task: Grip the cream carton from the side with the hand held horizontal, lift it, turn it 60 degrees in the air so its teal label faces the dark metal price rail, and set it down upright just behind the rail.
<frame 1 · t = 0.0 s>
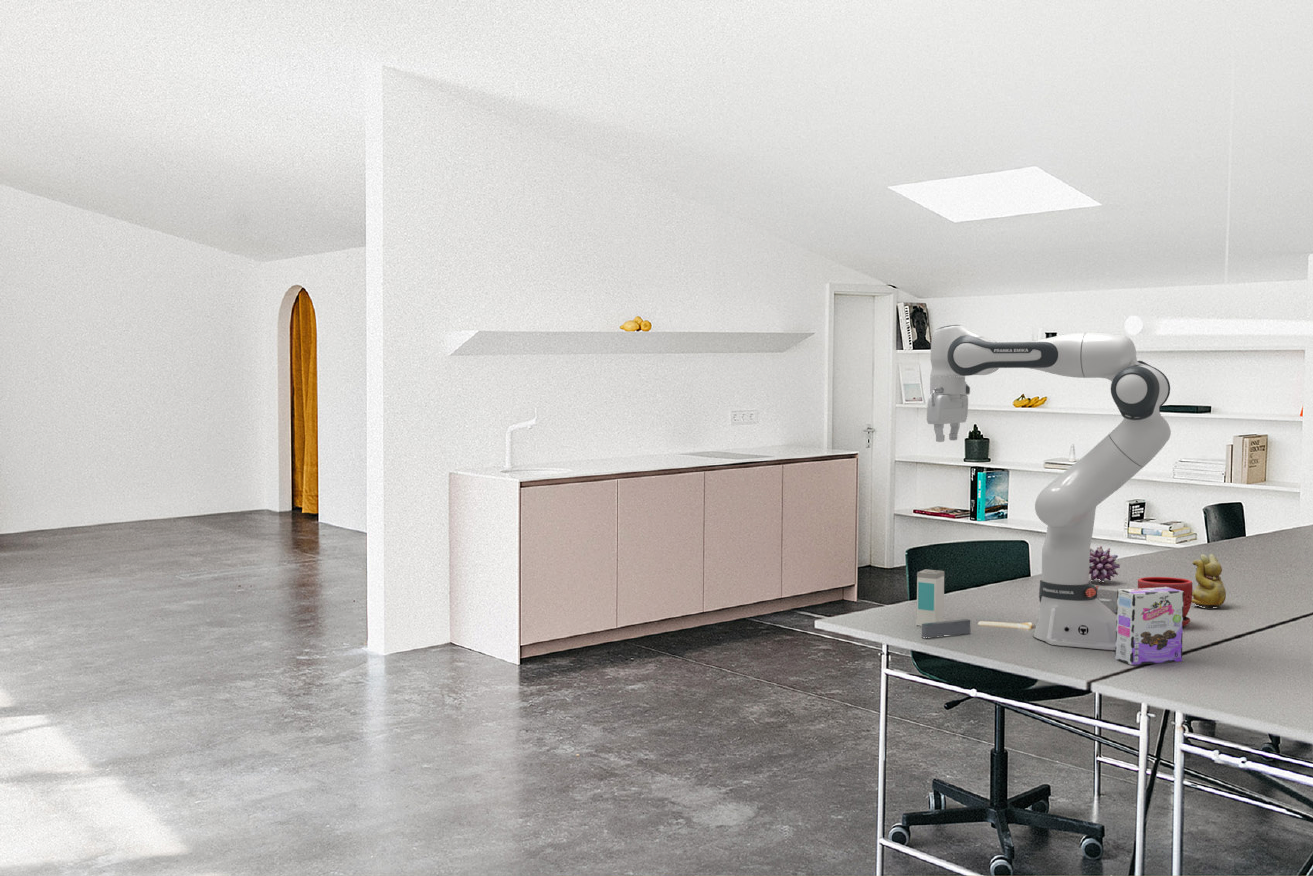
hand: (946, 441, 297), 48 cm above the table, tool pointing down, fingers open, 8 cm apart
price rail: (946, 635, 285), on the table
candy box: (1148, 661, 260), on the table
plant pot: (1164, 625, 299), on the table
decorative figurine: (1209, 608, 321), on the table
purple spiky ball: (1099, 584, 359), on the table
carton: (930, 625, 297), on the table
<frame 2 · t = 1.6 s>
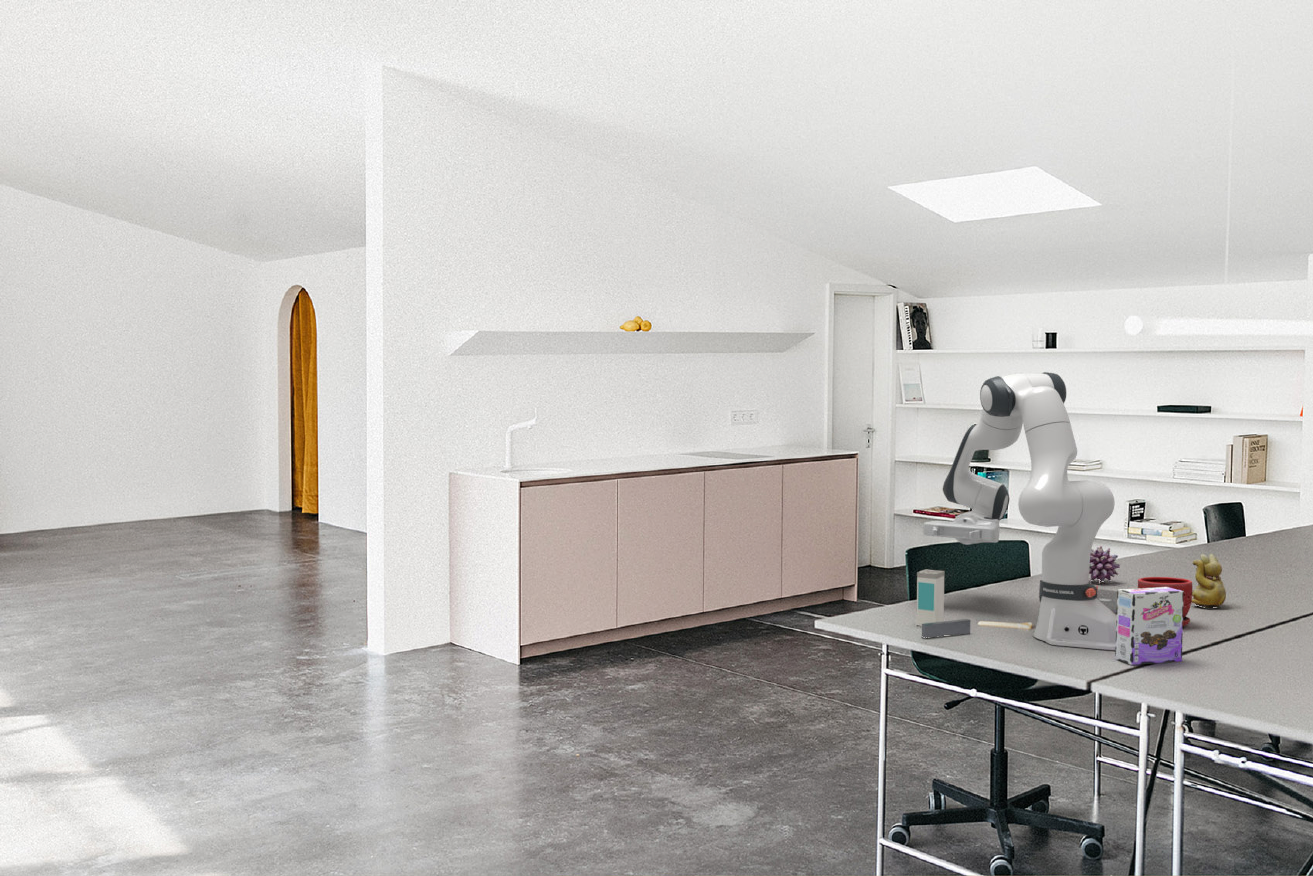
hand: (951, 534, 309), 22 cm above the table, tool horizontal, fingers open, 8 cm apart
nothing on the table moved.
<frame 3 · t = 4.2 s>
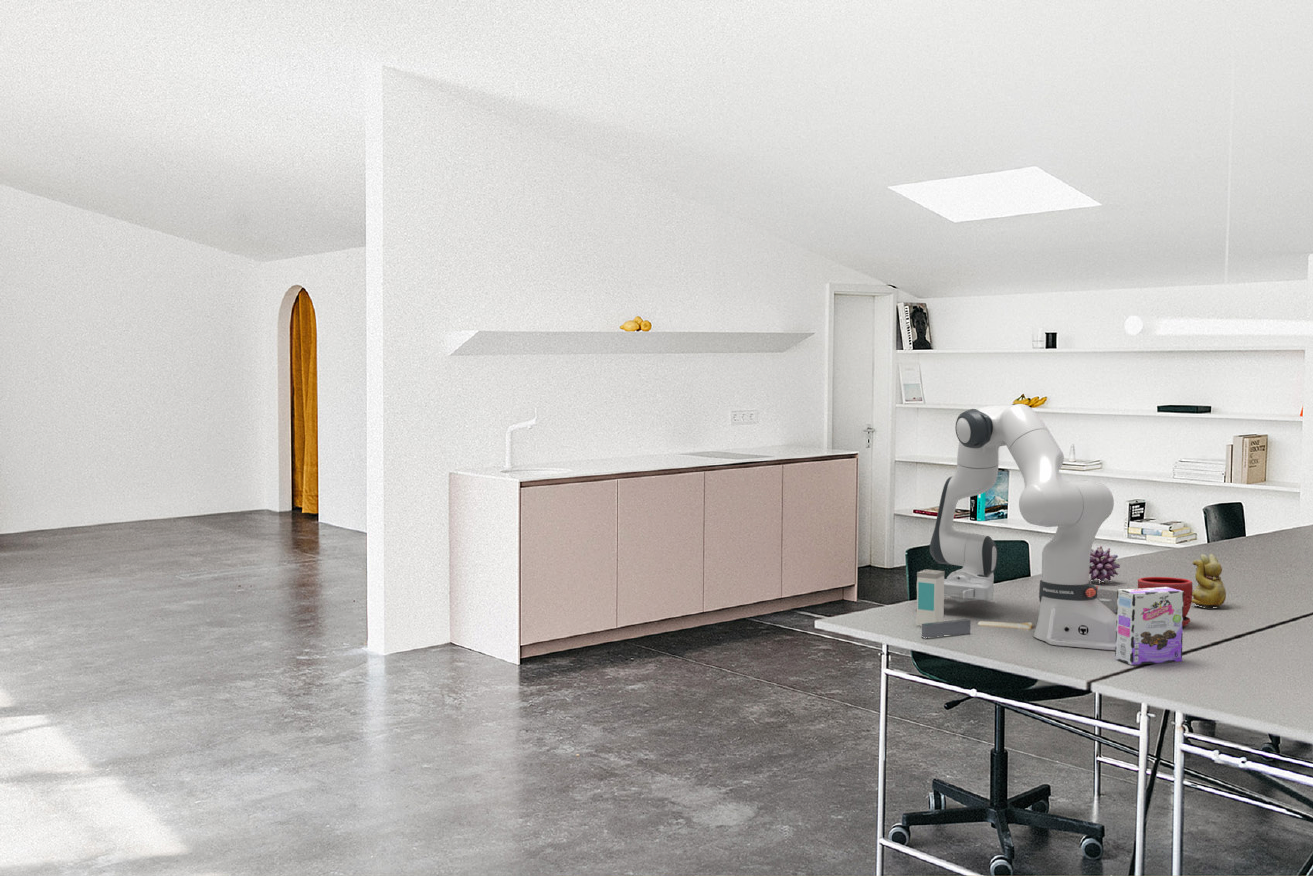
hand: (944, 592, 305), 7 cm above the table, tool horizontal, fingers open, 8 cm apart
nothing on the table moved.
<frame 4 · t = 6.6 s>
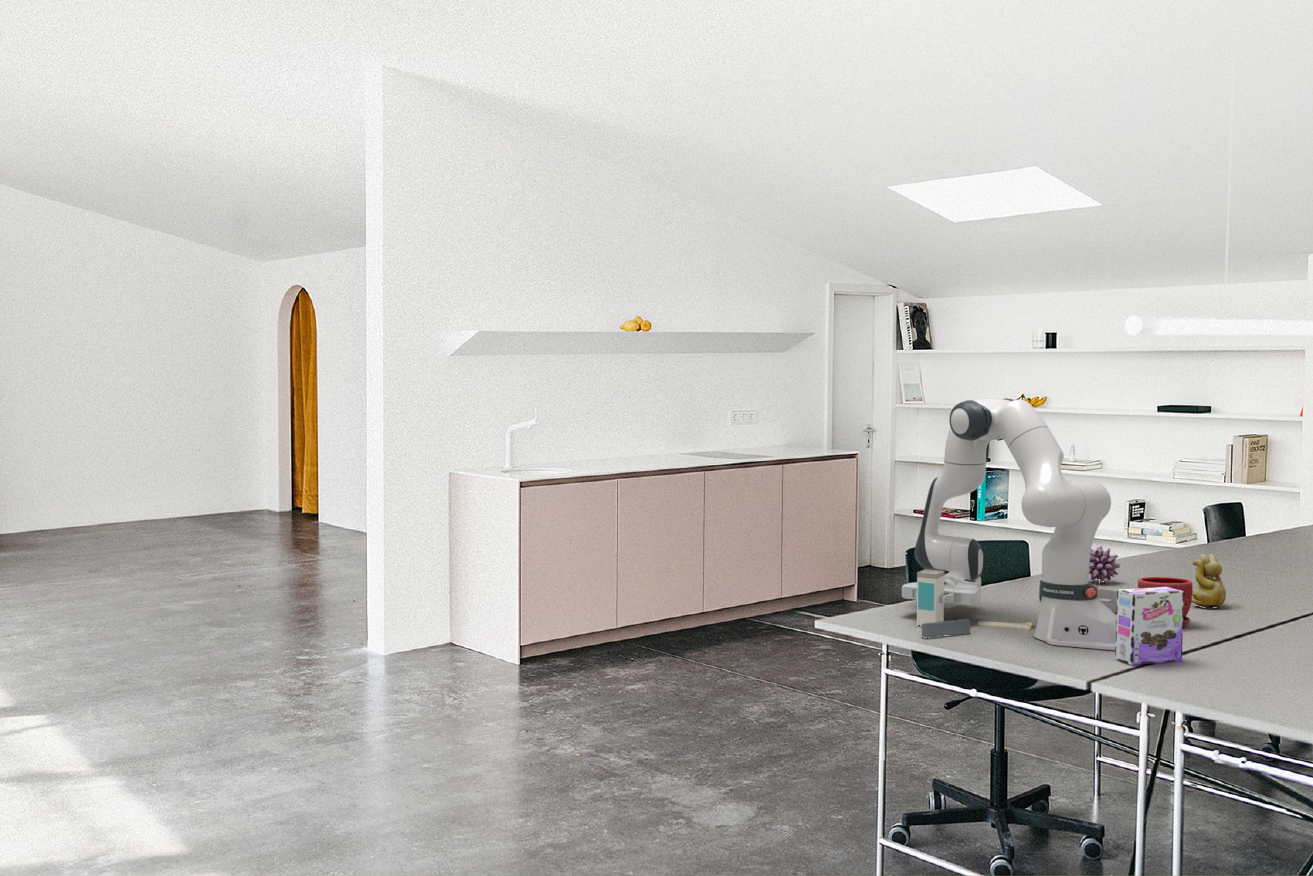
hand: (929, 598, 297), 7 cm above the table, tool horizontal, fingers closed on carton, 5 cm apart
carton: (930, 625, 297), on the table, touching gripper
everything else where it was.
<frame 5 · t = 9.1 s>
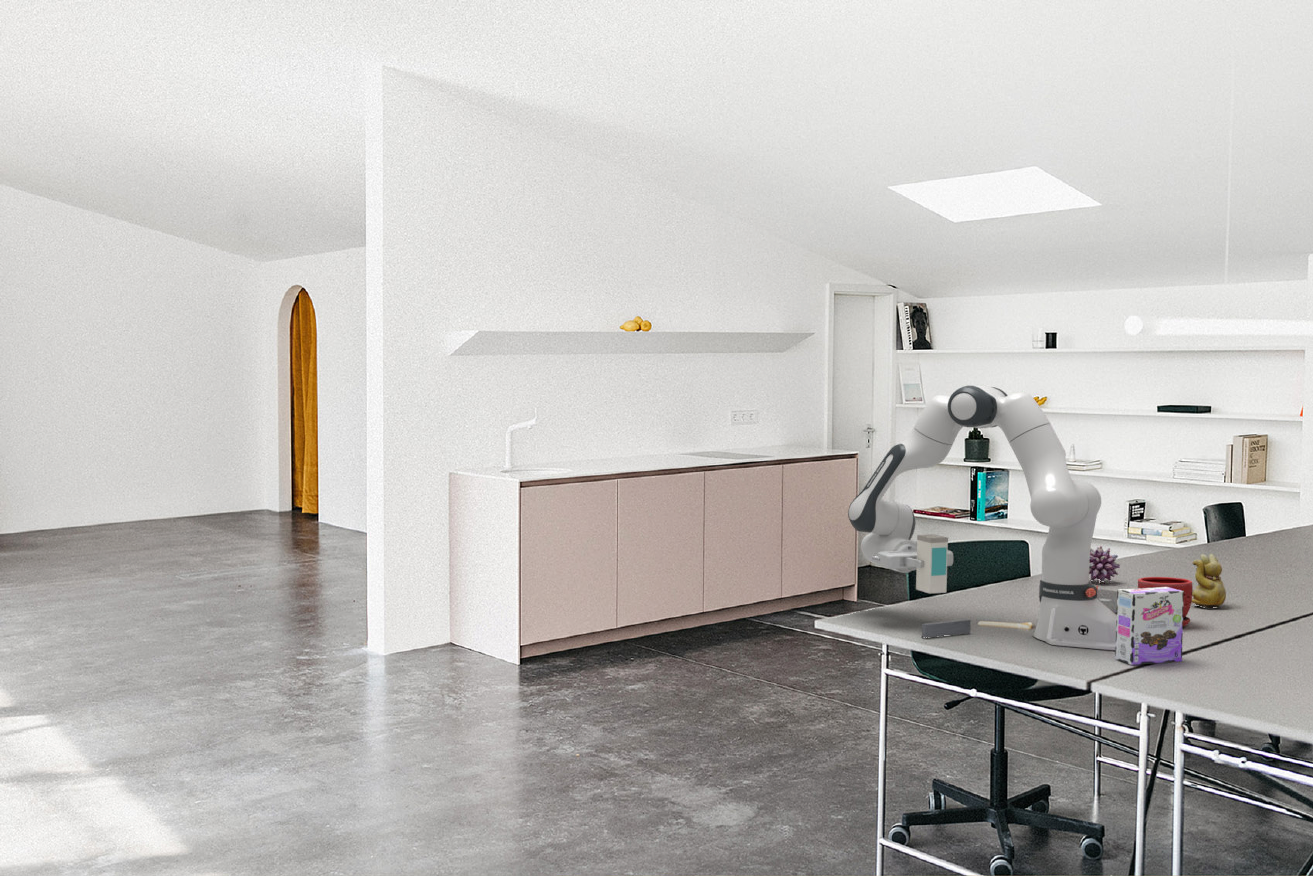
hand: (932, 563, 289), 17 cm above the table, tool horizontal, fingers closed on carton, 5 cm apart
carton: (931, 590, 290), point 10 cm above the table, touching gripper
everything else where it was.
when the fingers open (8 cm above the table, at t = 11.7 s): carton drops 2 cm, on the table.
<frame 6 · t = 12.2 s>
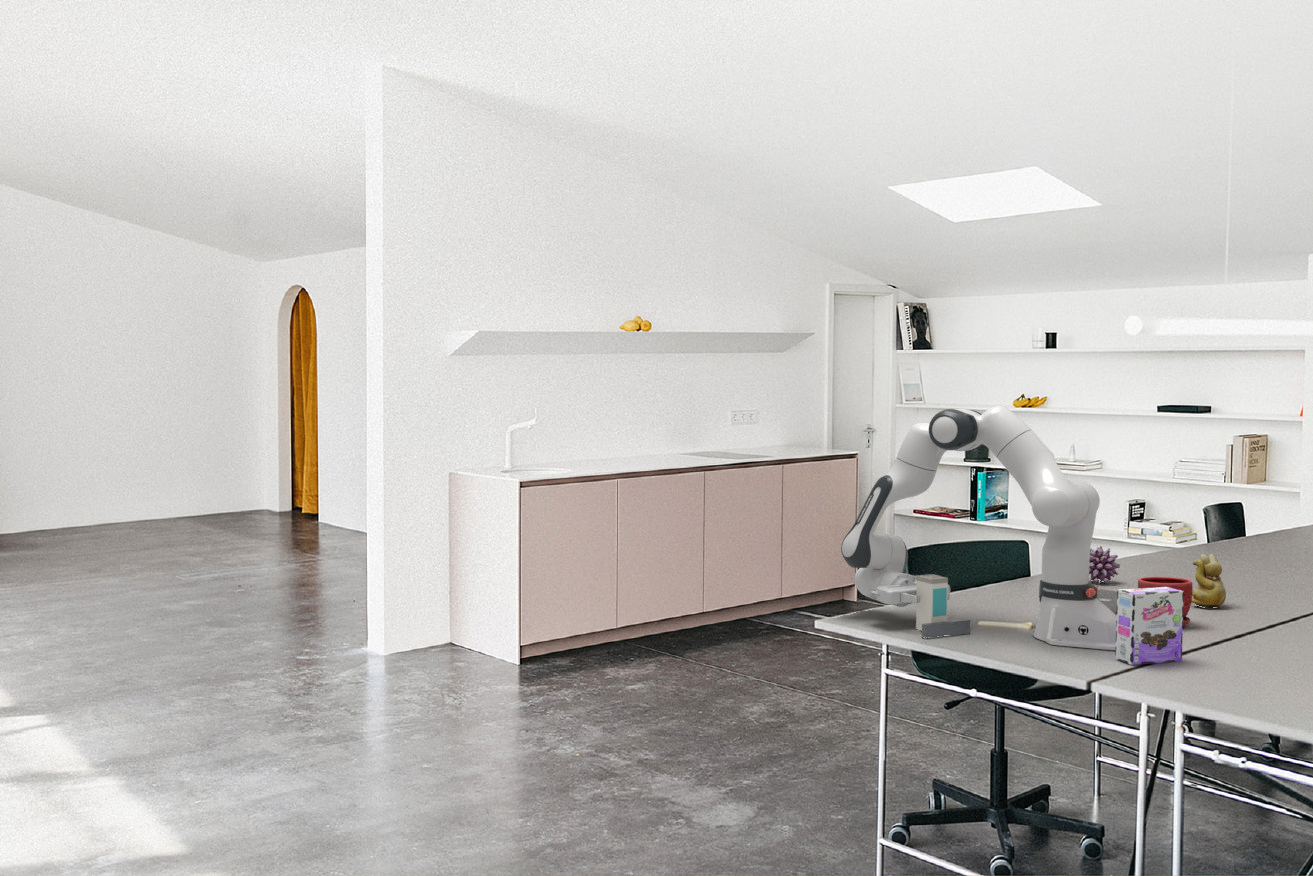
hand: (932, 598, 289), 8 cm above the table, tool horizontal, fingers open, 8 cm apart
carton: (931, 631, 290), on the table
everything else where it was.
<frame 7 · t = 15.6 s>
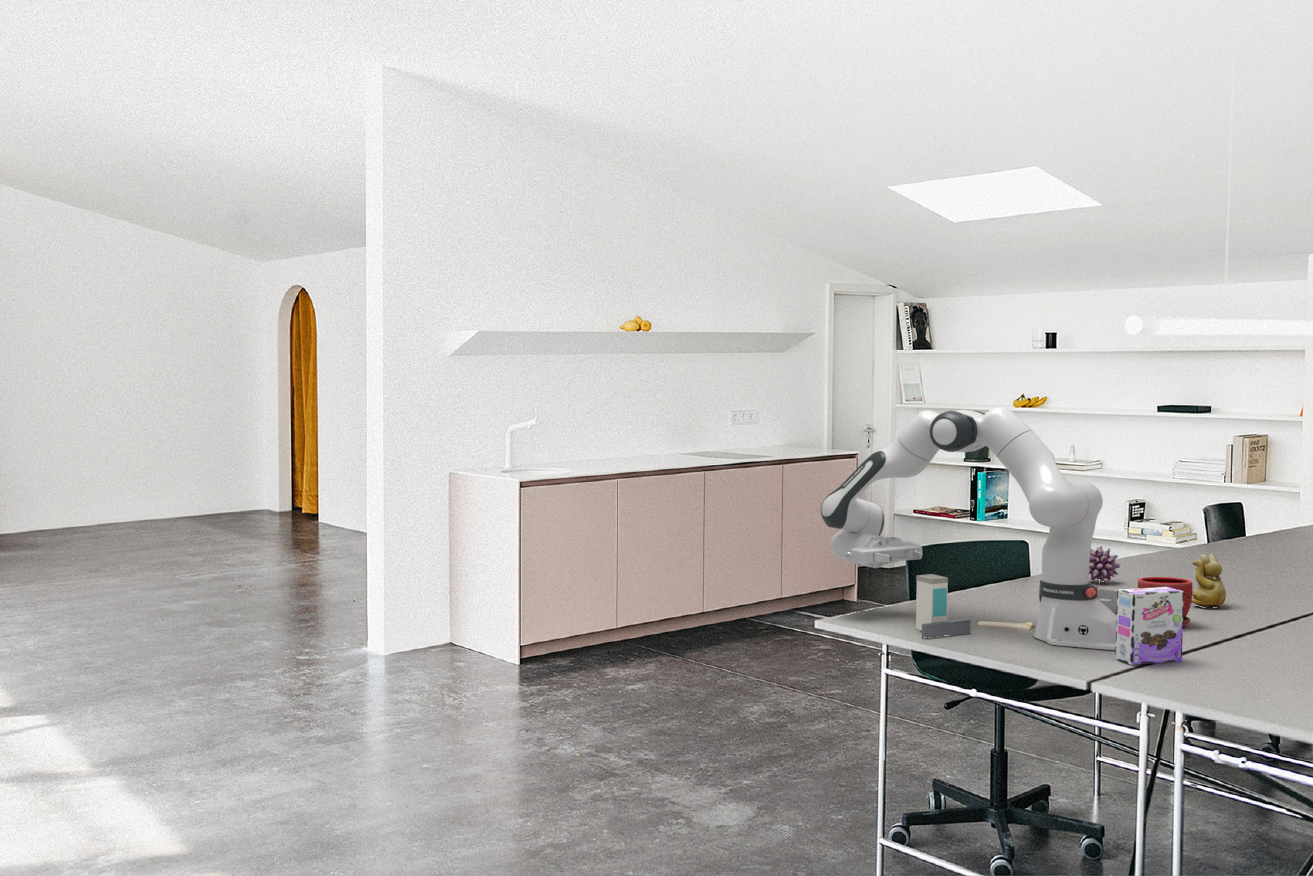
hand: (904, 557, 299), 17 cm above the table, tool horizontal, fingers open, 8 cm apart
nothing on the table moved.
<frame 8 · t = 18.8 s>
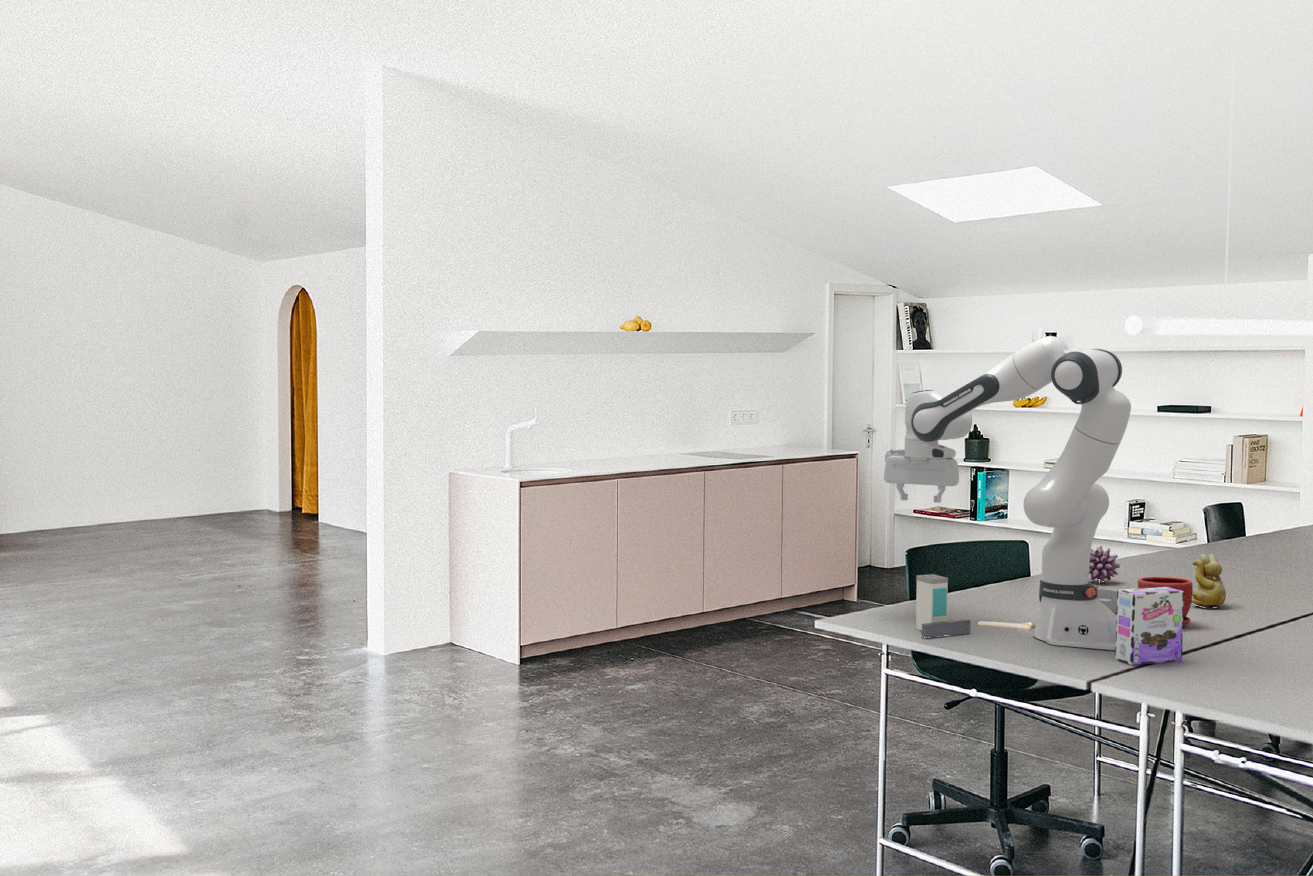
hand: (920, 501, 308), 31 cm above the table, tool pointing down, fingers open, 8 cm apart
nothing on the table moved.
at the end: carton 0.1 cm from the target spot, on the table; carton tilted 0°; the gripper is holding nothing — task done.
